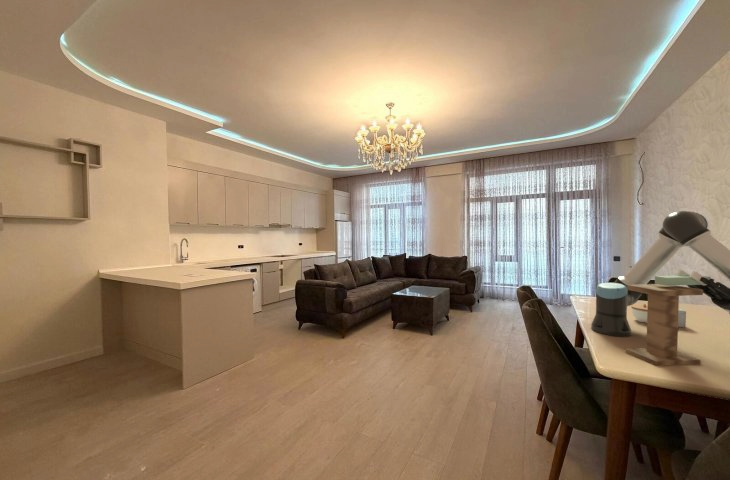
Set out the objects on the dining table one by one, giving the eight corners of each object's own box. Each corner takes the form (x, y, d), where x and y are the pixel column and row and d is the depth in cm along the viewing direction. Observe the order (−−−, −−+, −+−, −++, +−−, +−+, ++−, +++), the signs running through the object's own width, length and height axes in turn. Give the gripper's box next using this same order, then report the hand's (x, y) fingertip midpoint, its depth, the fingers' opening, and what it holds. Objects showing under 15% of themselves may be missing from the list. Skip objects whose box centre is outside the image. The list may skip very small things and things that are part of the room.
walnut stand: (665, 350, 121) (667, 283, 120) (700, 363, 109) (703, 289, 108) (625, 352, 120) (627, 284, 119) (657, 365, 108) (659, 290, 107)
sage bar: (697, 282, 117) (697, 275, 117) (710, 284, 113) (710, 276, 113) (654, 283, 116) (654, 276, 115) (665, 285, 112) (666, 277, 111)
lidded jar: (631, 317, 167) (631, 301, 167) (657, 321, 160) (658, 304, 159) (630, 321, 160) (631, 304, 159) (658, 325, 152) (659, 308, 152)
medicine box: (682, 325, 152) (683, 309, 152) (685, 328, 149) (686, 311, 148) (661, 323, 157) (662, 307, 156) (664, 325, 153) (664, 309, 152)
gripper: (756, 316, 108) (708, 285, 106) (699, 304, 125) (657, 278, 123) (765, 298, 108) (718, 267, 106) (708, 289, 125) (666, 262, 123)
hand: (685, 273), depth 114 cm, fingers closed on sage bar, 4 cm apart
